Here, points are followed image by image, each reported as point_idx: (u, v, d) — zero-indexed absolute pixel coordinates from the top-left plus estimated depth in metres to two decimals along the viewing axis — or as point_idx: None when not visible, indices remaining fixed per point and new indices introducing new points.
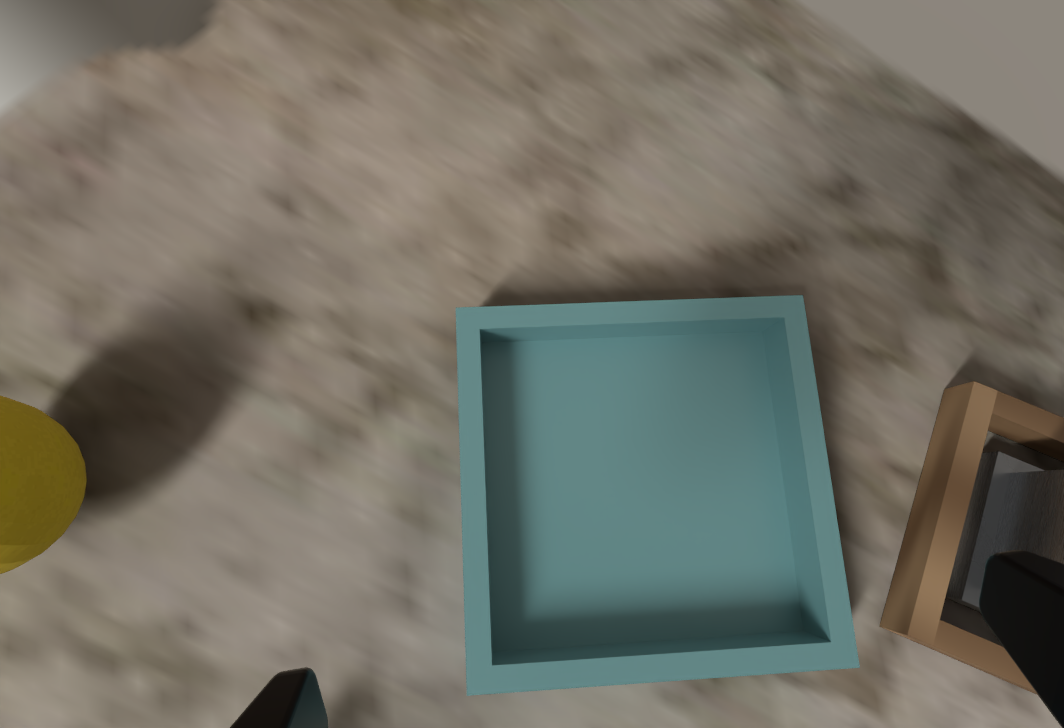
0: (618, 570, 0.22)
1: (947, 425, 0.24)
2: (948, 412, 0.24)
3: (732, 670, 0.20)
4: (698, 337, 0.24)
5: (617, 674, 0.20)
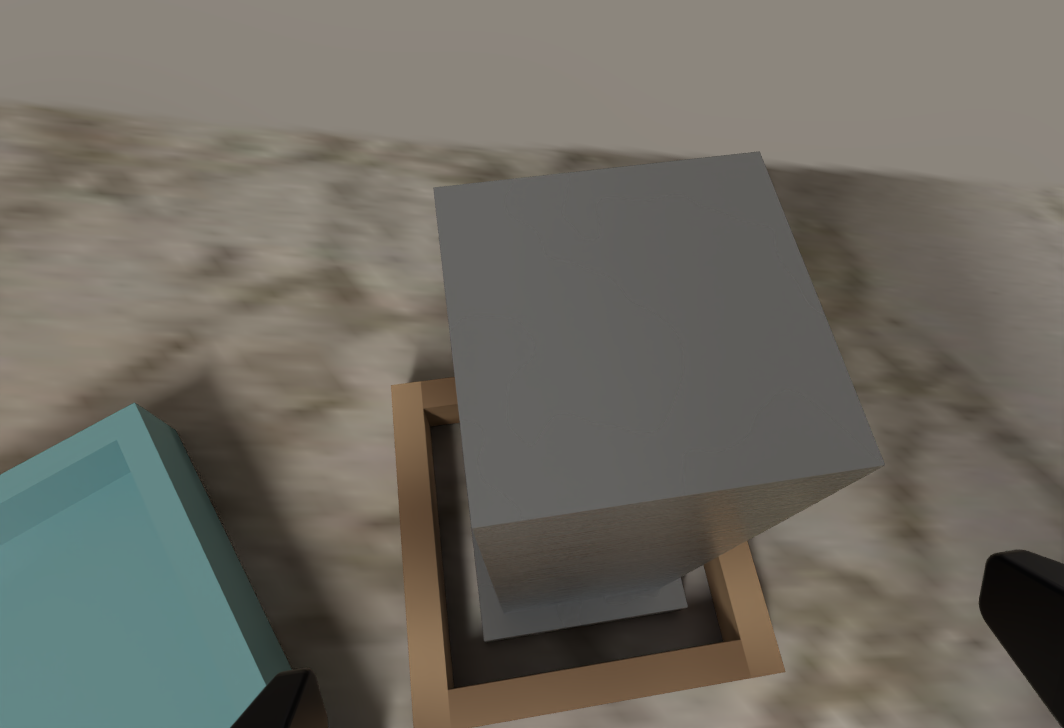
0: None
1: None
2: None
3: None
4: (69, 510, 0.19)
5: None
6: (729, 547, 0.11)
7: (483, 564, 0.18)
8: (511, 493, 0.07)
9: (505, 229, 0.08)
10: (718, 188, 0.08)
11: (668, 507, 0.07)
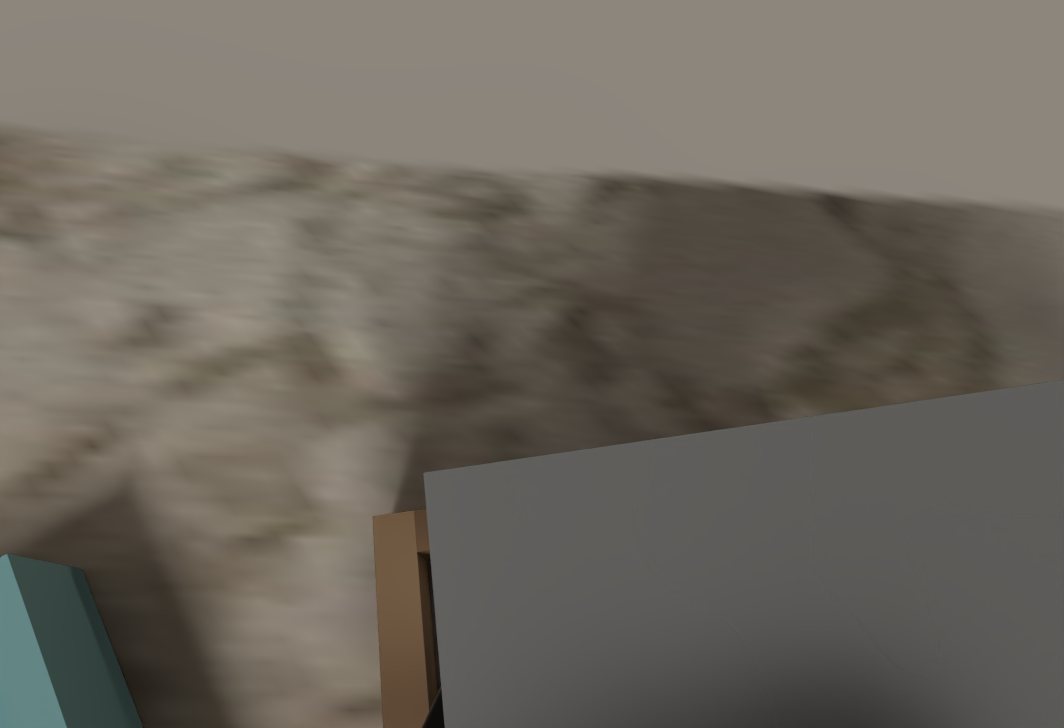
0: None
1: None
2: None
3: None
4: None
5: None
6: None
7: None
8: None
9: (646, 633, 0.03)
10: None
11: None
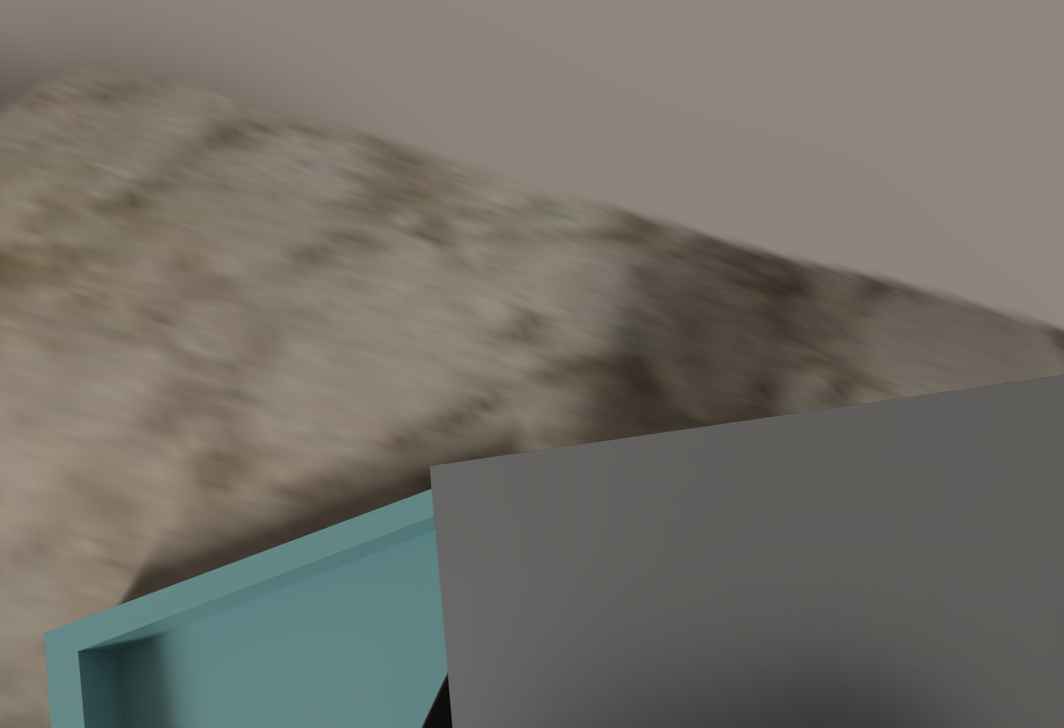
0: None
1: None
2: None
3: None
4: (388, 552, 0.20)
5: None
6: None
7: None
8: None
9: (651, 625, 0.03)
10: None
11: None
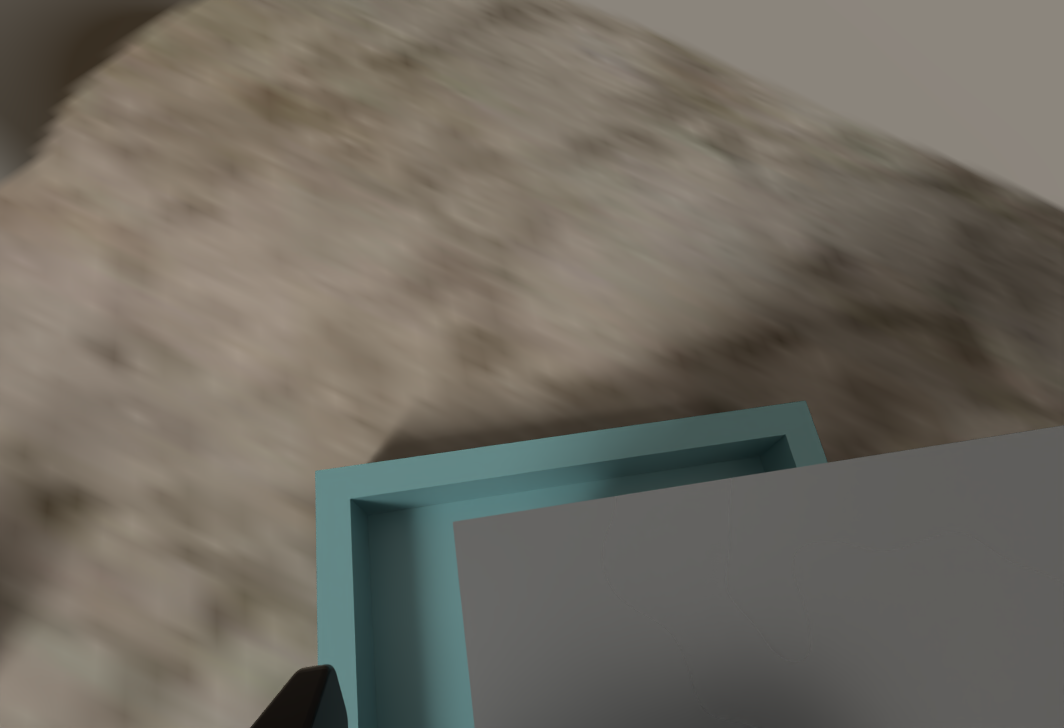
0: None
1: None
2: None
3: None
4: (672, 474, 0.17)
5: None
6: None
7: None
8: None
9: (609, 635, 0.04)
10: (1036, 515, 0.04)
11: None
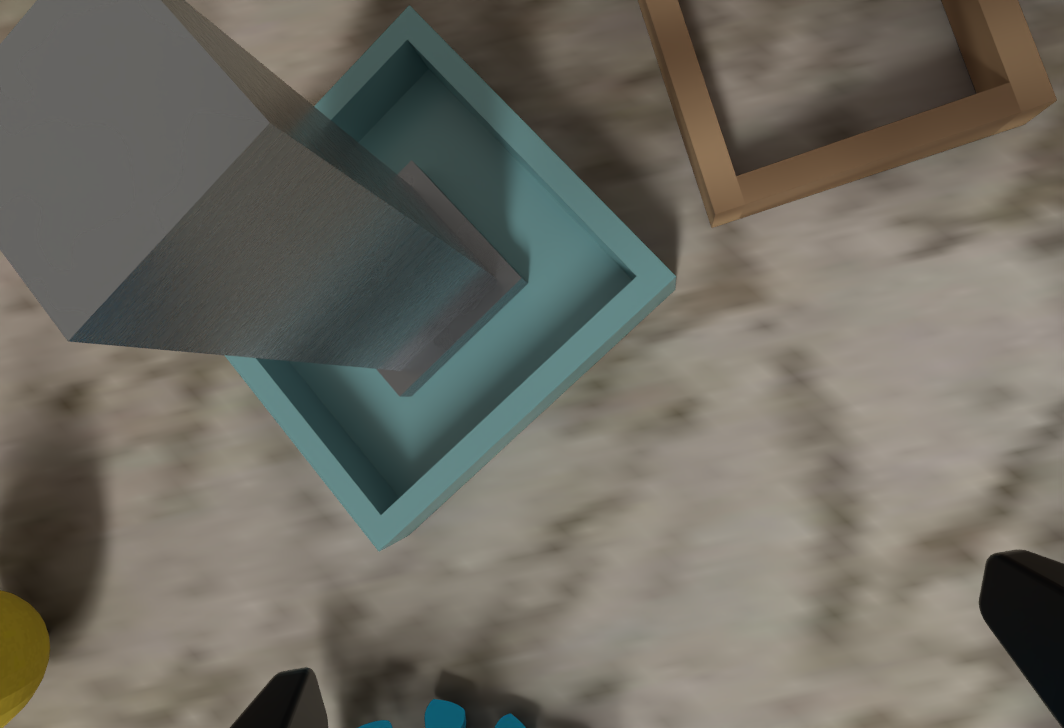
0: (454, 365, 0.22)
1: None
2: None
3: (569, 367, 0.19)
4: (380, 123, 0.23)
5: (479, 445, 0.19)
6: (409, 226, 0.14)
7: None
8: (76, 305, 0.09)
9: None
10: None
11: (187, 246, 0.10)
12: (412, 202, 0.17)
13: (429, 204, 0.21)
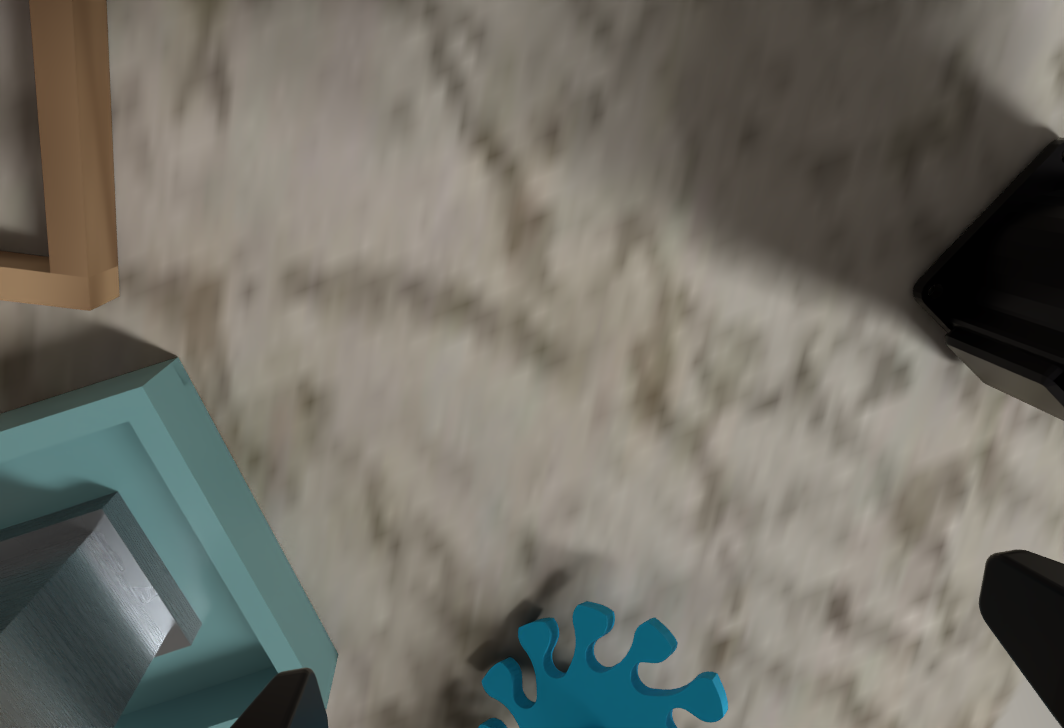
0: (183, 580, 0.21)
1: None
2: None
3: (206, 511, 0.19)
4: None
5: (257, 607, 0.20)
6: None
7: None
8: None
9: None
10: None
11: None
12: None
13: None
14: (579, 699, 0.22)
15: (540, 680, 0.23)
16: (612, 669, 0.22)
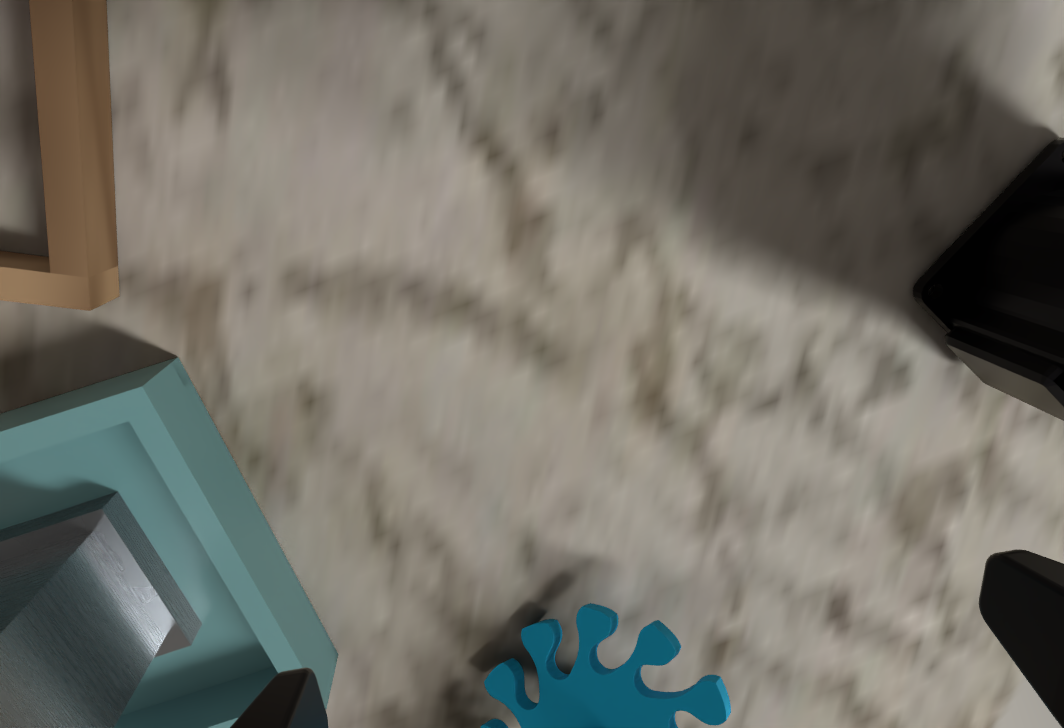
0: (183, 580, 0.21)
1: None
2: None
3: (206, 511, 0.19)
4: None
5: (257, 607, 0.20)
6: None
7: None
8: None
9: None
10: None
11: None
12: None
13: None
14: (582, 701, 0.22)
15: (543, 682, 0.23)
16: (615, 671, 0.22)
